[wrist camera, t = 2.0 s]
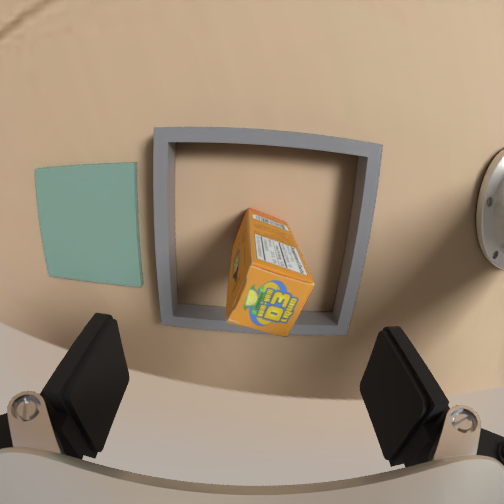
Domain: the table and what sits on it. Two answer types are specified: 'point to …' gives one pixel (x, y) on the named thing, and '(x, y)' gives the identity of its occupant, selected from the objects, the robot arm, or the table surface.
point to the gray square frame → (366, 151)
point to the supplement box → (266, 276)
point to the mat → (90, 222)
